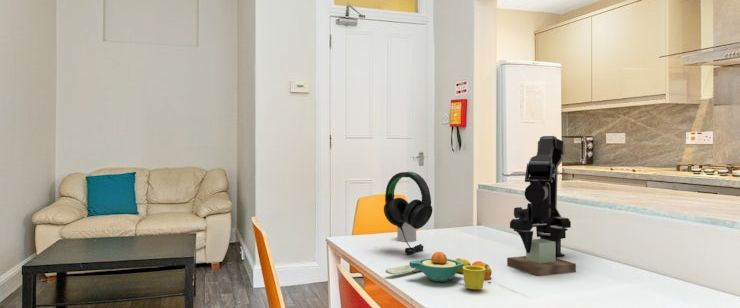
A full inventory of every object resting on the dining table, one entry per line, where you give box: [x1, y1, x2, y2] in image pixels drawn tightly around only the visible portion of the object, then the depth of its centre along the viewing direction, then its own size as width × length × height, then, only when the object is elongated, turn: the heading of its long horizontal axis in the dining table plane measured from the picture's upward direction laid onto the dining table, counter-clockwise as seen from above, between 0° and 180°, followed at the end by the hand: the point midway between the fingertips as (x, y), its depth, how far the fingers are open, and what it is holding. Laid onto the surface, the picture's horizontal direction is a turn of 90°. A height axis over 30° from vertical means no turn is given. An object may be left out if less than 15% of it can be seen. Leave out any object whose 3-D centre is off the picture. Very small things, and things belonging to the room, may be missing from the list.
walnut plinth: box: [506, 255, 577, 277], centre depth 146 cm, size 14×14×2 cm
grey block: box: [396, 222, 417, 243], centre depth 190 cm, size 8×8×12 cm
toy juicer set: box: [385, 251, 493, 290], centre depth 138 cm, size 29×18×8 cm, turn 58°
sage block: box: [525, 238, 557, 263], centre depth 146 cm, size 6×6×6 cm
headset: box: [383, 171, 433, 256], centre depth 167 cm, size 18×14×29 cm
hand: (540, 251), depth 146 cm, fingers open, 9 cm apart
